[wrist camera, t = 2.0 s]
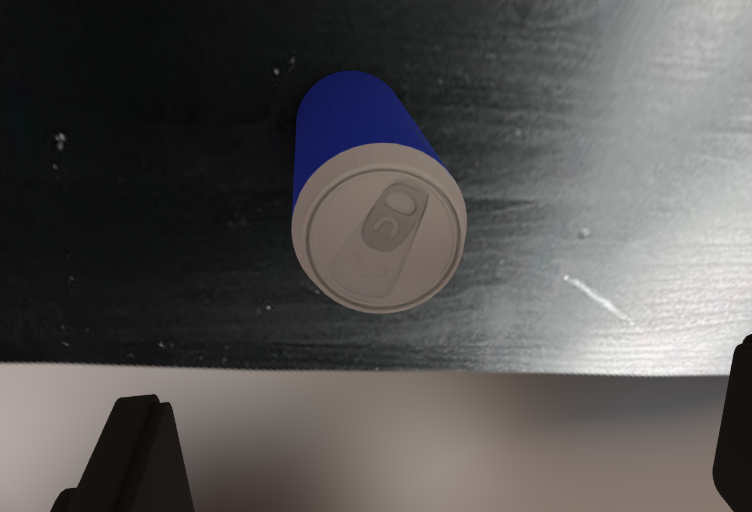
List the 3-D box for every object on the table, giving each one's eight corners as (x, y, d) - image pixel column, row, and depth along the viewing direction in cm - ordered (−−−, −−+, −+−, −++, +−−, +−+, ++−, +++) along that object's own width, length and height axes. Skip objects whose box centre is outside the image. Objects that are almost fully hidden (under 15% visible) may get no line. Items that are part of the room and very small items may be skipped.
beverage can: (372, 191, 34) (418, 347, 20) (278, 146, 32) (260, 282, 19) (421, 99, 32) (509, 201, 18) (325, 48, 31) (342, 118, 17)
